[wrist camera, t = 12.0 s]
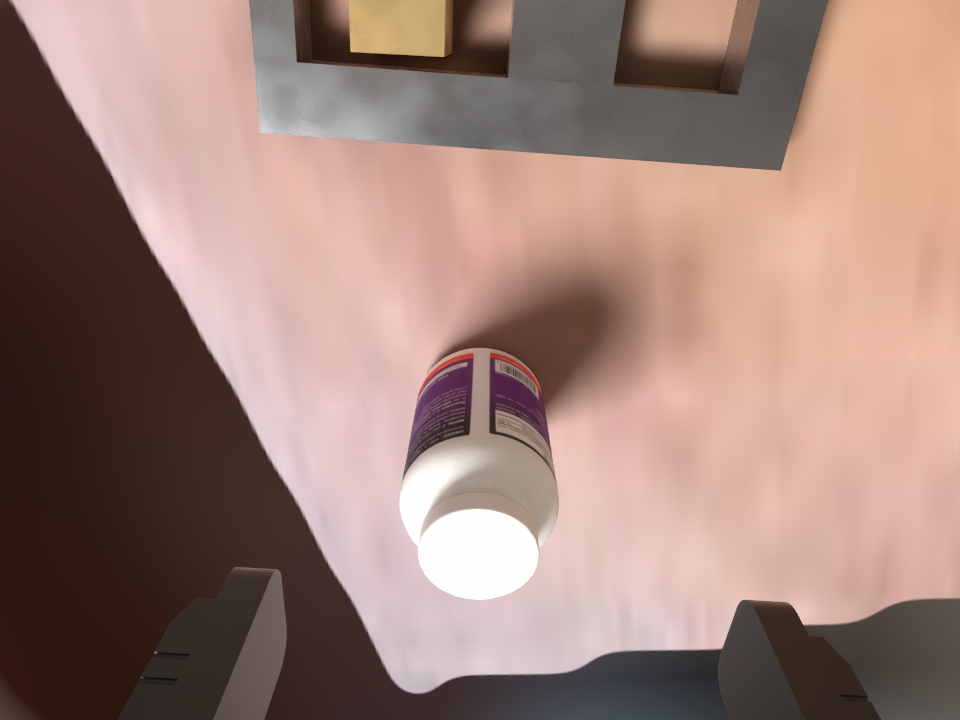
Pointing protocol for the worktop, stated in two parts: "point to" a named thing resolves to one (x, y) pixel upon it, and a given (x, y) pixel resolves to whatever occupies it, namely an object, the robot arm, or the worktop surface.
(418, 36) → the block
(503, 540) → the pill bottle
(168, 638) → the robot arm
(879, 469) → the worktop surface
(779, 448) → the worktop surface
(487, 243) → the worktop surface
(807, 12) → the silver slotted board
